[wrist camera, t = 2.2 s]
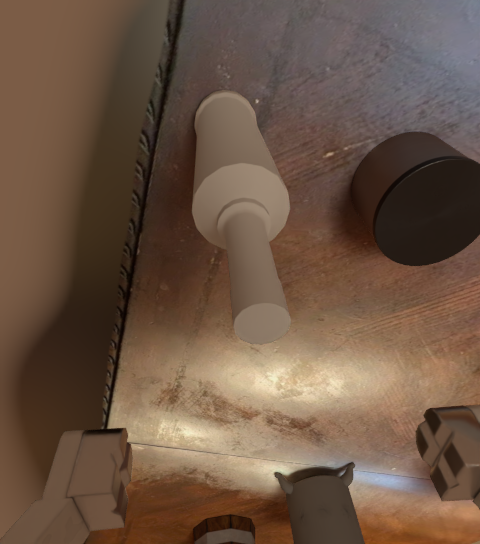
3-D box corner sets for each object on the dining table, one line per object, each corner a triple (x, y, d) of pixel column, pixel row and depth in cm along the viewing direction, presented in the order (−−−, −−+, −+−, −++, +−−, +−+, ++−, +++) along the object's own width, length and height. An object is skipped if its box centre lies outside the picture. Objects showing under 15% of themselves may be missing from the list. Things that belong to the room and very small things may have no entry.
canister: (335, 165, 37) (359, 198, 32) (442, 108, 35) (488, 133, 29) (367, 243, 43) (393, 282, 37) (461, 198, 40) (503, 234, 35)
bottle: (186, 136, 34) (169, 357, 14) (206, 76, 32) (220, 245, 12) (240, 157, 36) (293, 382, 16) (264, 101, 33) (363, 289, 13)
